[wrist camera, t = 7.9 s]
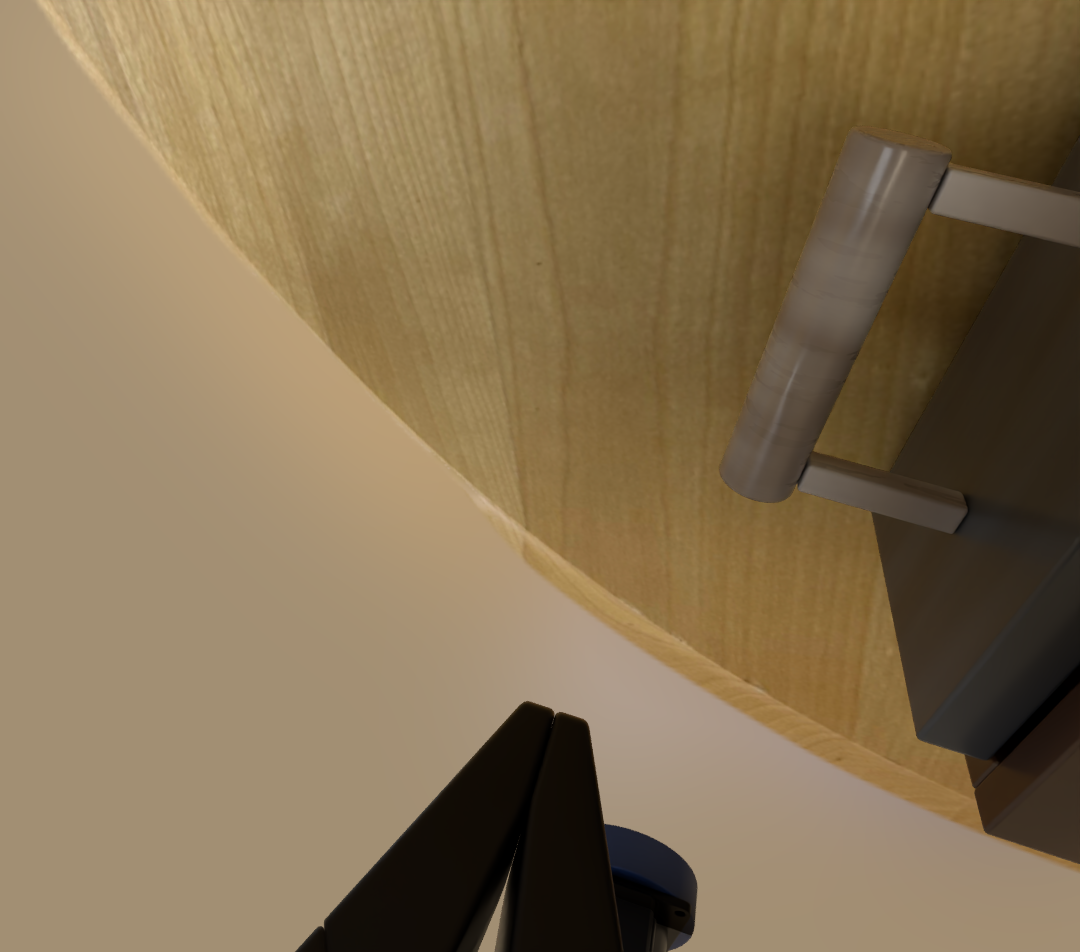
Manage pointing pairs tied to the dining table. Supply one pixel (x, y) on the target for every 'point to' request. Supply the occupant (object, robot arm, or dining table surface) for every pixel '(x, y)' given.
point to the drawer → (944, 433)
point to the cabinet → (1036, 780)
